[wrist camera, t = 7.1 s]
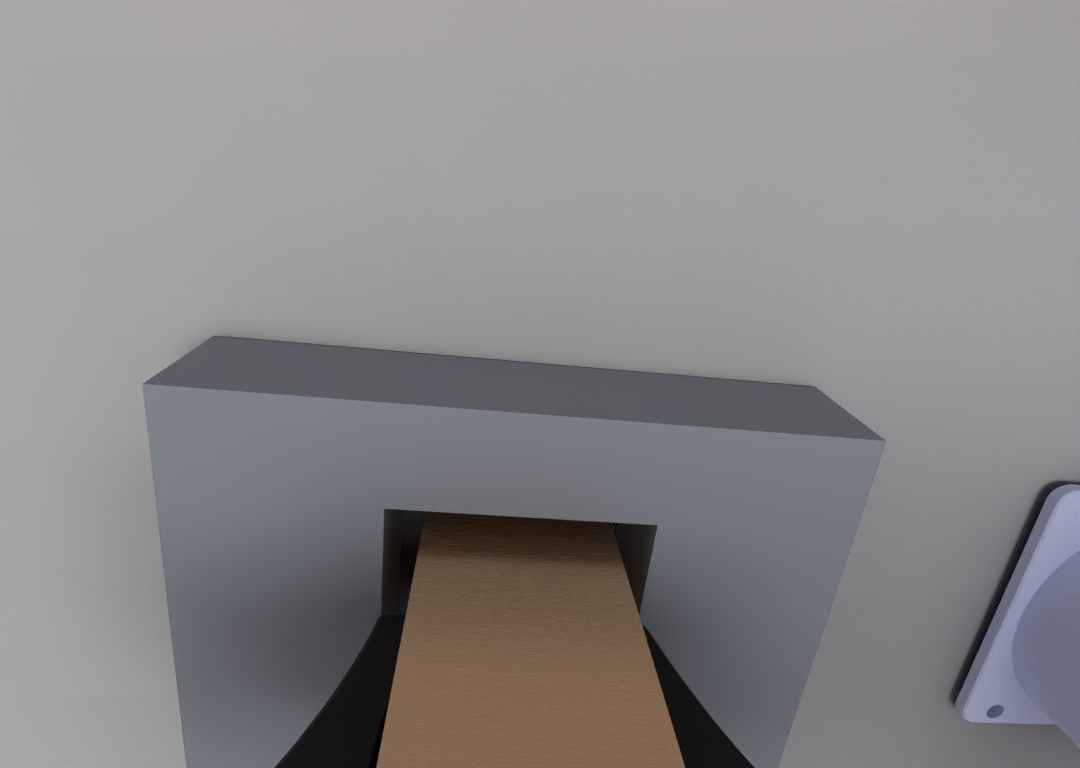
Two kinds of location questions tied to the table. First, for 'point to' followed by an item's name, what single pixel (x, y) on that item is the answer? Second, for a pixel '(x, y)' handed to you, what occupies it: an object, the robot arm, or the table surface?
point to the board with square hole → (486, 489)
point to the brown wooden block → (524, 652)
